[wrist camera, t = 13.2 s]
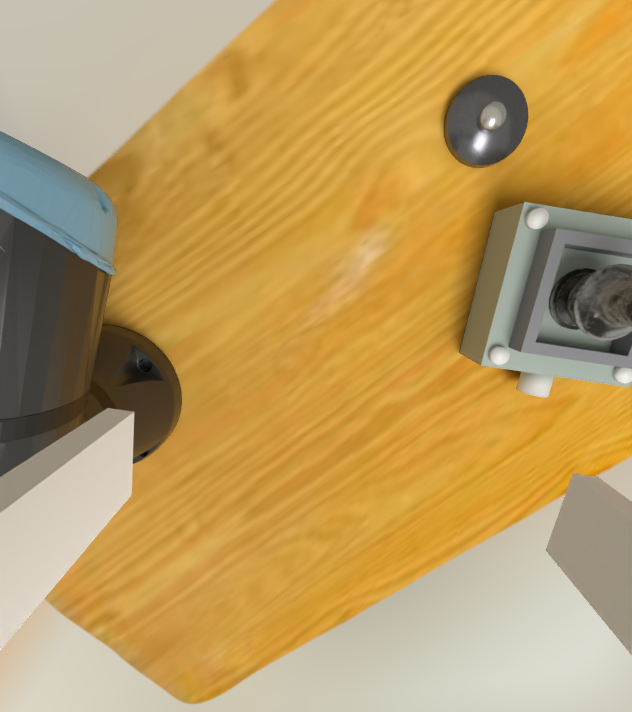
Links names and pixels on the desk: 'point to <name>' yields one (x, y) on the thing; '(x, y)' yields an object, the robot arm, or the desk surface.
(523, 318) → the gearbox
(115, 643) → the desk surface
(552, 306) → the dark metal chess piece
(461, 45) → the desk surface
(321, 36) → the desk surface
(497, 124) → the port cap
